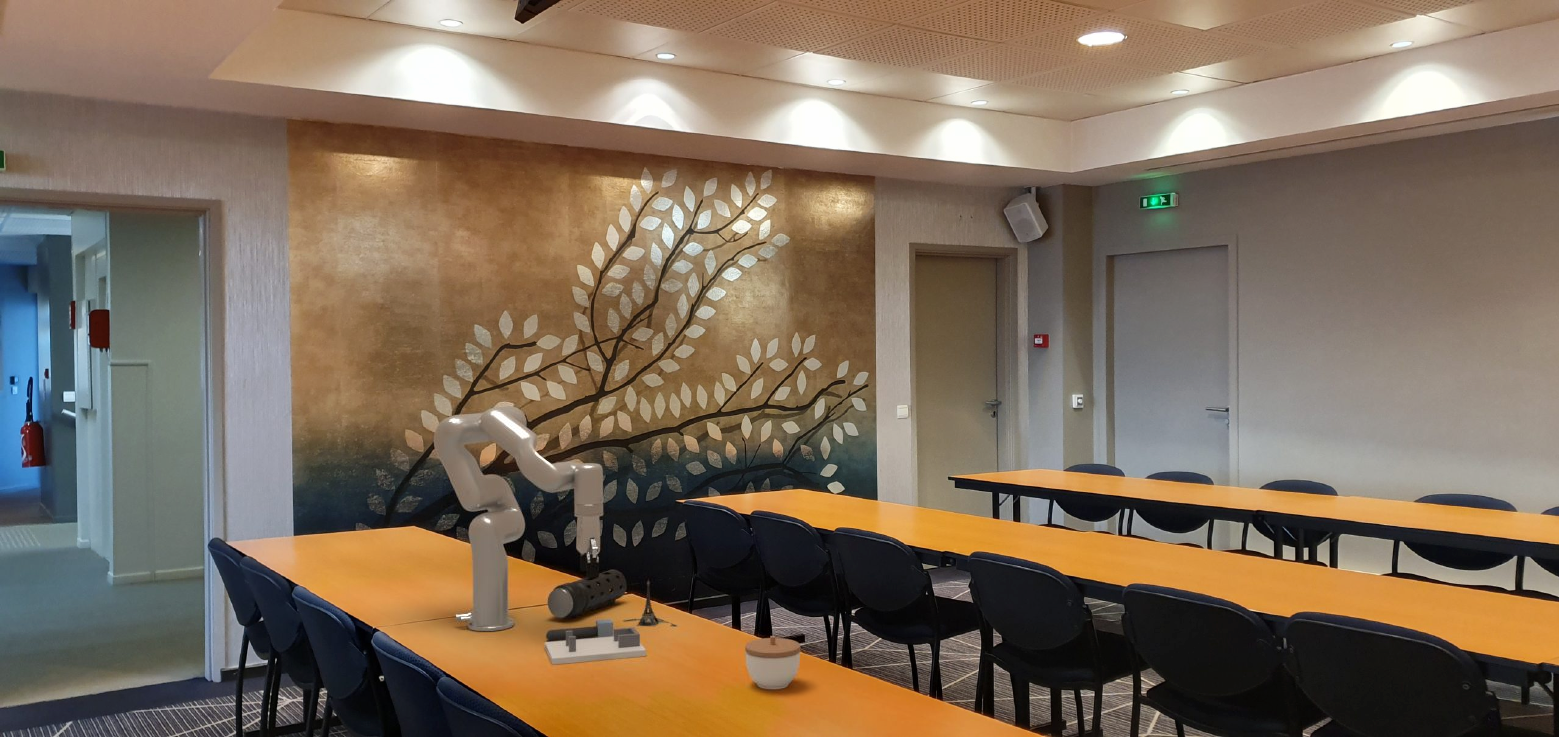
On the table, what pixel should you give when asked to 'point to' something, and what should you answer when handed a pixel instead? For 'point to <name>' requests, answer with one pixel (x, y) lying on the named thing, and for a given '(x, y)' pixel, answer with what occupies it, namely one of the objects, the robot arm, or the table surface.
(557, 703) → the table surface
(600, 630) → the cable
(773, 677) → the lidded bowl
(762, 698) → the table surface
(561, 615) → the muzzle brake
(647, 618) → the eiffel tower figurine
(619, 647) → the cable board
